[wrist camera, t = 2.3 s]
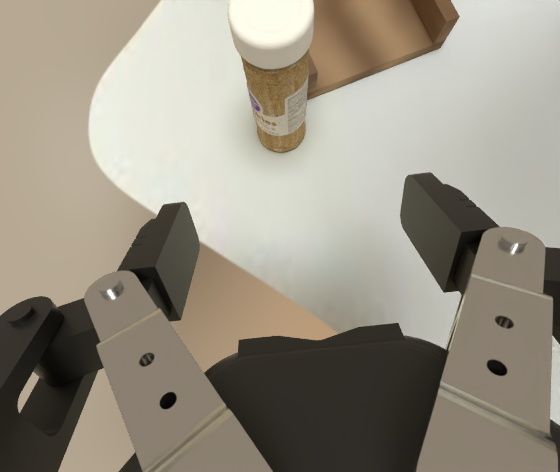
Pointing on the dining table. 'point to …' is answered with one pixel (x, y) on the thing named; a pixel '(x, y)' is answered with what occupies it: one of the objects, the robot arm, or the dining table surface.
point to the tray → (372, 37)
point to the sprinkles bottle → (275, 64)
